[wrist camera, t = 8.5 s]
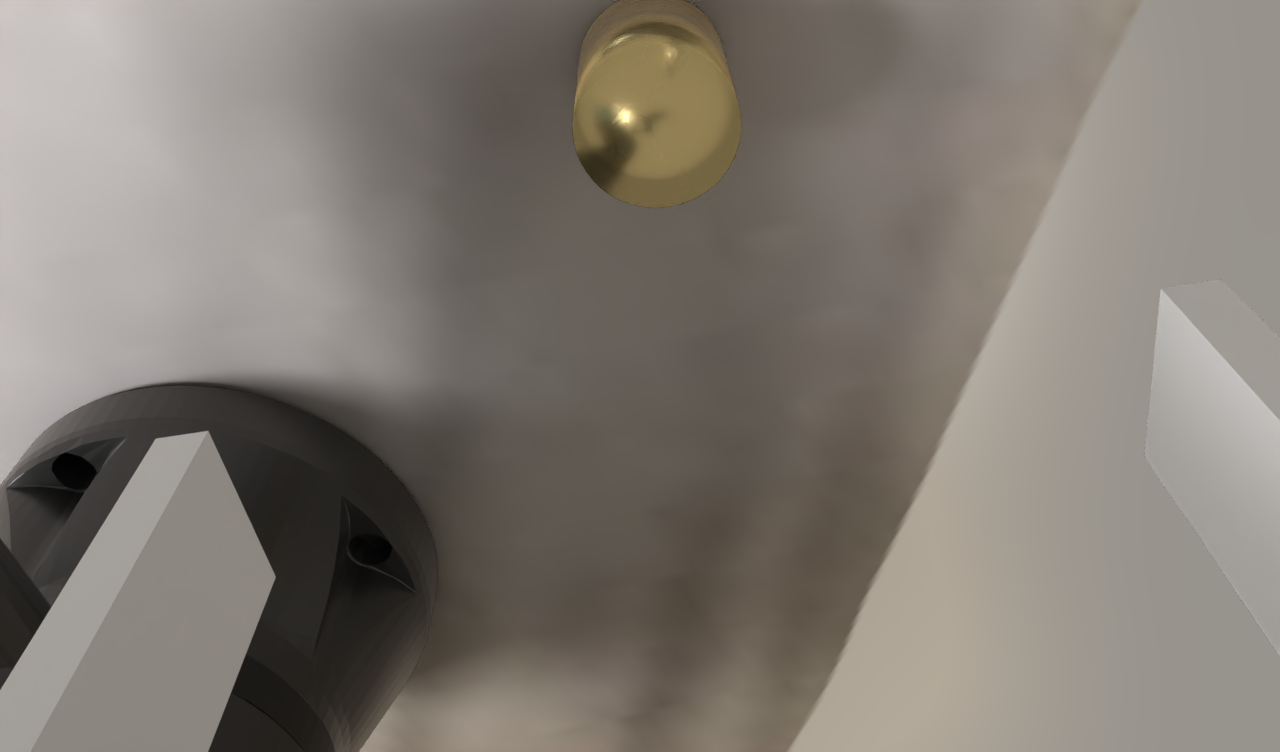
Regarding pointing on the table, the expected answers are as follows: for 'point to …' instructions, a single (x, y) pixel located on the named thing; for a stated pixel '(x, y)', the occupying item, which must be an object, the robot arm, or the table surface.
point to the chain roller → (654, 103)
